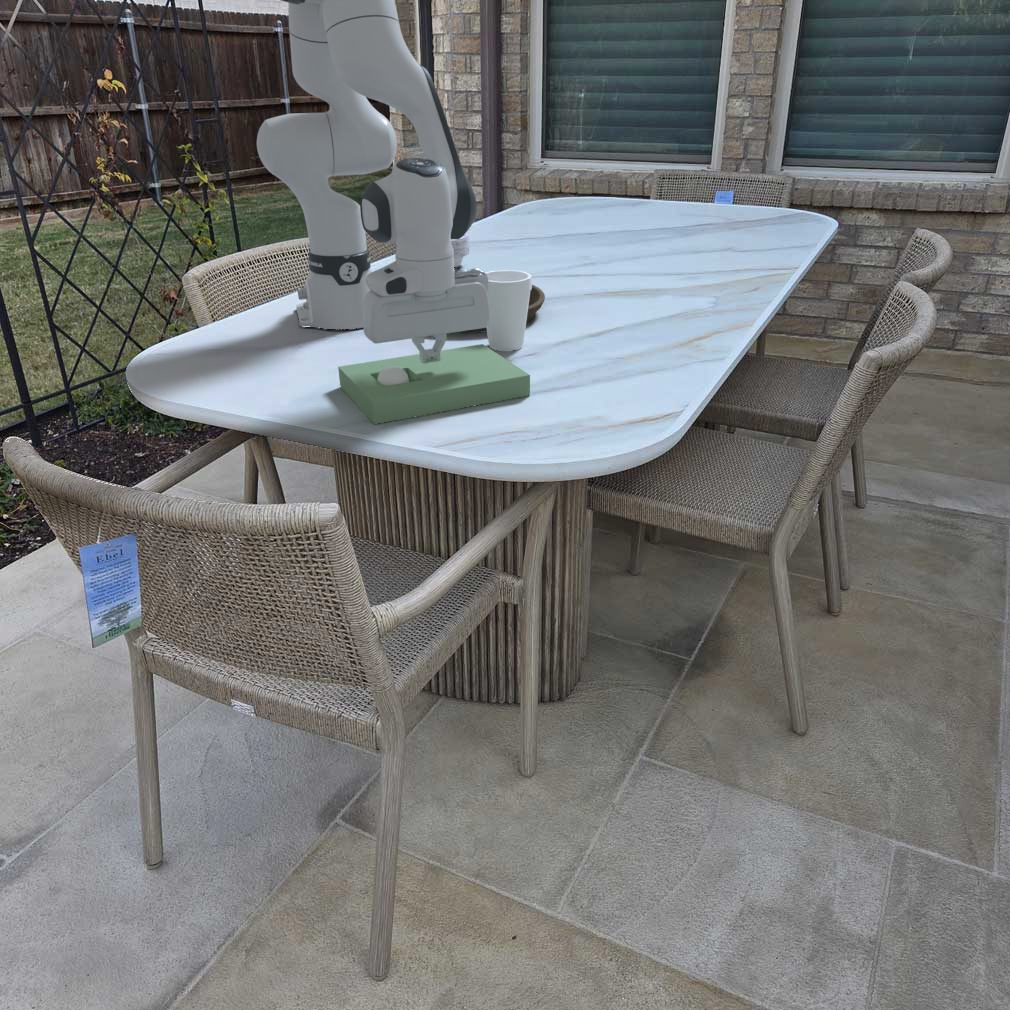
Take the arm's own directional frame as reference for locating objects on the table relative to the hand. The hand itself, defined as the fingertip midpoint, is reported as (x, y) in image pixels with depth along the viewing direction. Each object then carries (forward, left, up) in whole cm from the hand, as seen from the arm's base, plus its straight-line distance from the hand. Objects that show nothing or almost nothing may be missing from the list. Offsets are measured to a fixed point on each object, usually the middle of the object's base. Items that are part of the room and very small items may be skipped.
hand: (430, 361), depth 137 cm
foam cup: (-16, +21, -5) cm, 27 cm away
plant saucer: (-39, +24, -6) cm, 46 cm away
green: (0, 0, -5) cm, 5 cm away
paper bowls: (-83, +35, -5) cm, 90 cm away
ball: (+1, -7, -2) cm, 7 cm away
